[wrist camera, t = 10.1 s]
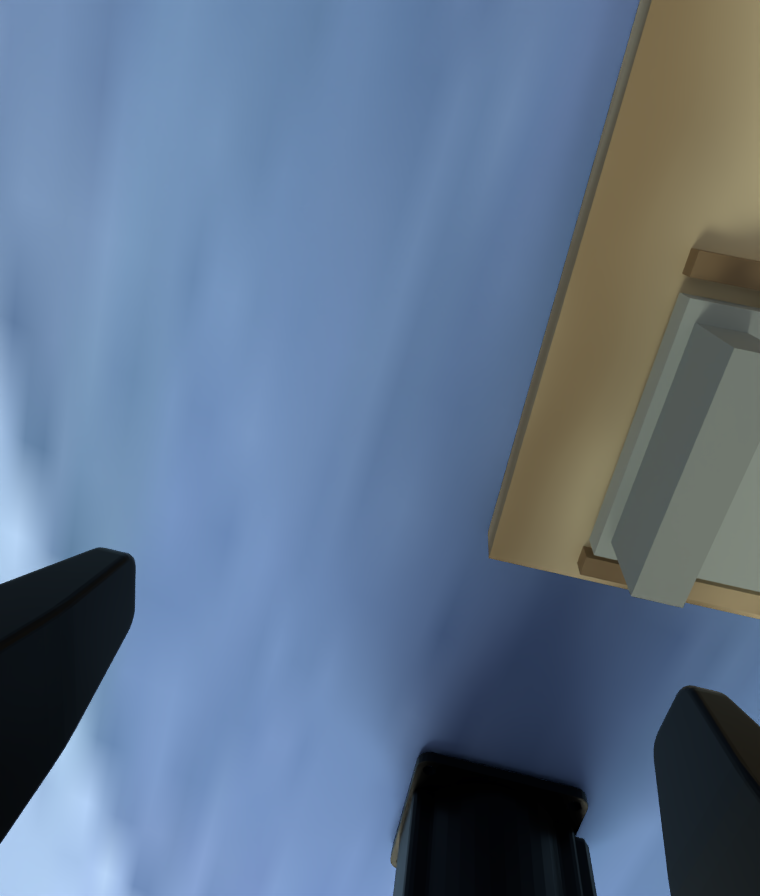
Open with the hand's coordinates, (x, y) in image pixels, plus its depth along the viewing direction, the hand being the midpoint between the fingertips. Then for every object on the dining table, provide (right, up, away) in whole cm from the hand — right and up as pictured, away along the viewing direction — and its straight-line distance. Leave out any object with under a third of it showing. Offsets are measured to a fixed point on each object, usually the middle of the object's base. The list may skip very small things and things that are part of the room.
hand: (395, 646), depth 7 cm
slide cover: (+10, +2, +9) cm, 13 cm away
